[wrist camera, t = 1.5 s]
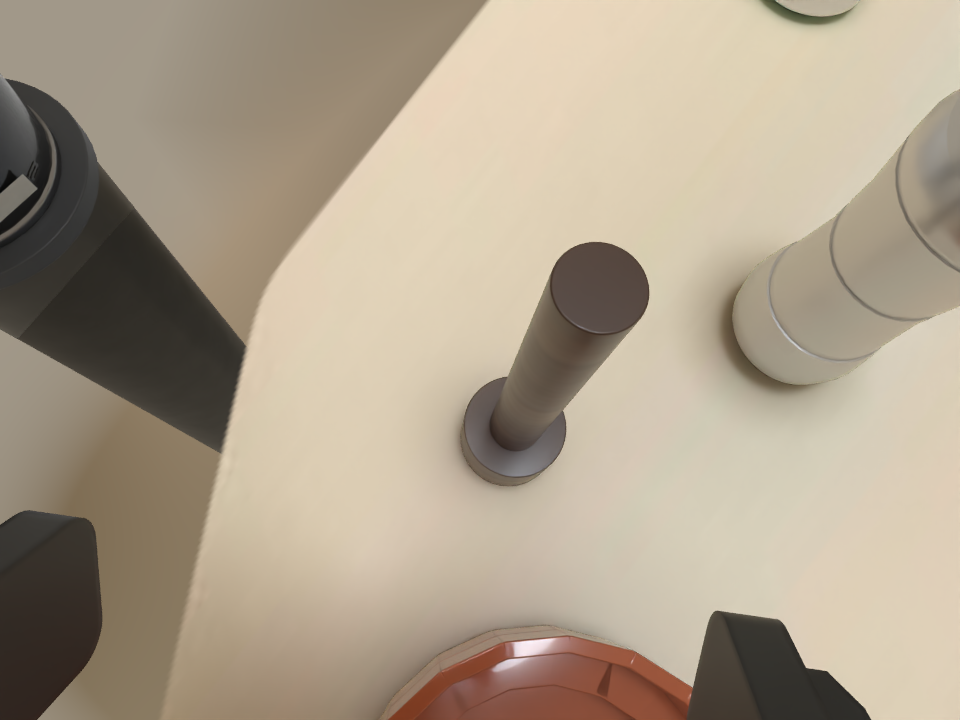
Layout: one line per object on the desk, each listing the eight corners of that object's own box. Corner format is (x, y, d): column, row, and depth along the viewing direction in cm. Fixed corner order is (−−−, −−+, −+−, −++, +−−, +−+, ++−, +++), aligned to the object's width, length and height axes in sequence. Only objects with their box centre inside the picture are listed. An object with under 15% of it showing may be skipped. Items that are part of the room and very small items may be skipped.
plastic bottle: (858, 306, 35) (1362, -1, 16) (818, 419, 33) (1339, 221, 14) (743, 251, 36) (1104, -111, 17) (697, 360, 34) (1047, 90, 15)
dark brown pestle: (442, 453, 32) (461, 315, 14) (491, 376, 33) (561, 163, 16) (524, 504, 31) (643, 424, 14) (570, 423, 32) (731, 260, 15)
